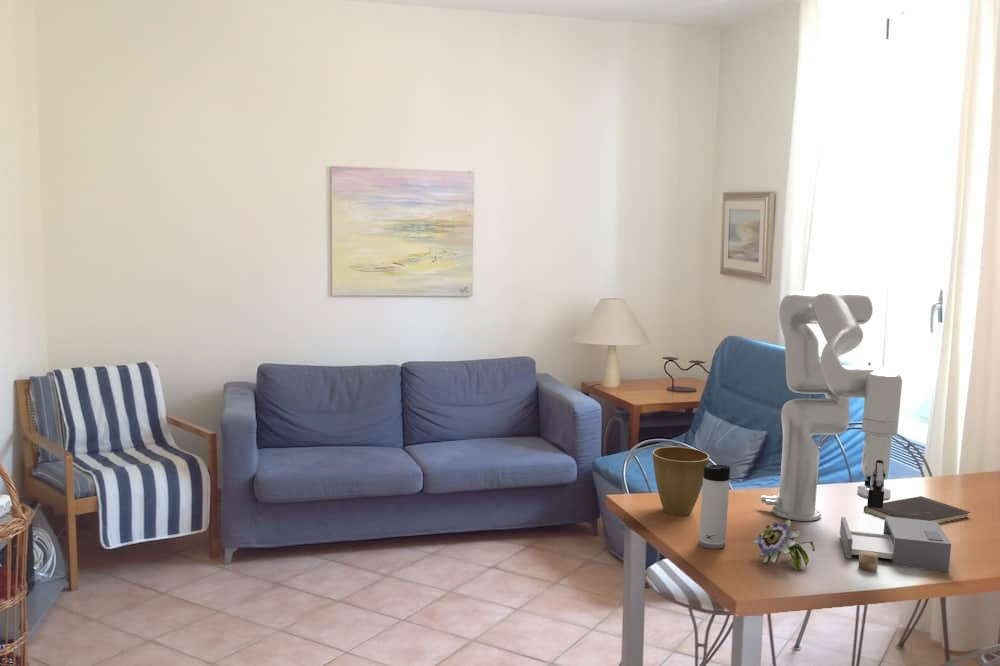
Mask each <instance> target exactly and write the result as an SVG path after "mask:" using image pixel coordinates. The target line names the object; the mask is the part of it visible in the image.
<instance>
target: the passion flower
mask: <svg viewBox="0 0 1000 666" xmlns="http://www.w3.org/2000/svg"><path fill="white" fill-rule="evenodd" d="M791 526H792V520H790V519H786V521H784V523H783V522H775V523H774V522H773V523H772V525H770V524H767V525H766V526H765V527H763V529H762V532H760V533H759V534H758V538H754V539H753V540H752V543H754V544H755V545H758V547H759V550H760V551H761V552H760V555H759V557H761V558H763V561H762V563H763V564H767V563H770V561H771V562H772V564H775V563H777V562H778V561H779V559H780V556H781V553H782V554H784V555H789V554H790V557H791V559H792V560H791V561H792V564H793V567H794V569H795V570H797V571H798V572H800V571H801V566H802V559H803V562H804V564H805V567H808V564H809V562H810V561H809V556H808V554H807V552H806V551H805V550H804V548H802V546H801V545H802V544H807V543H809V544H810V545H811V547H812V552H815V551H816V547H815V544H814V541H806V542H805V541H804V542H801V543H800V542H799V543H797V542H796V541H795V540H794V539H796V538H797V537H799V536H800V534H801V533H800V531H798V530H797V531H796V530H795V531H791V530H789V529H790V527H791Z"/></svg>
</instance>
